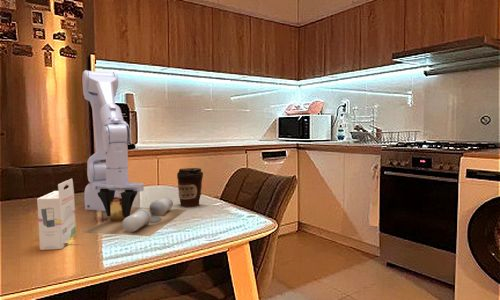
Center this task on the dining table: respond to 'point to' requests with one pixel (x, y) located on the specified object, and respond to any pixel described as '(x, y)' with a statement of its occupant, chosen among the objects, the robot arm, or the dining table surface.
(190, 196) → the coffee cup
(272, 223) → the dining table surface
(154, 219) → the flange seat
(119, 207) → the tan red-topped cylinder
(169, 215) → the board
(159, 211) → the pipe stubs
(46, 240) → the ink box
